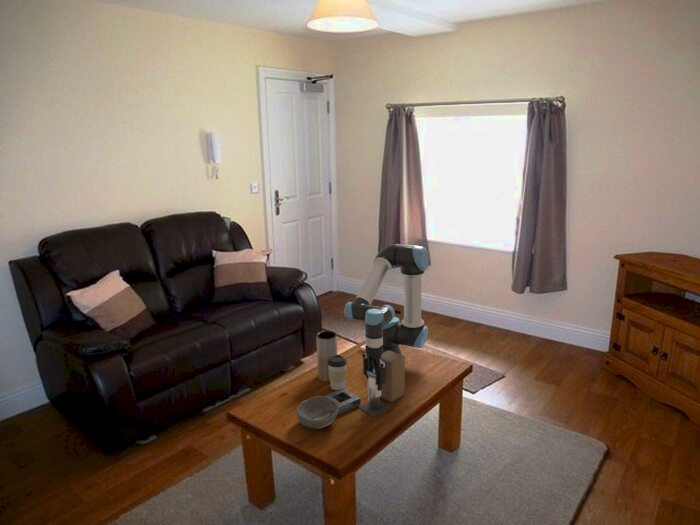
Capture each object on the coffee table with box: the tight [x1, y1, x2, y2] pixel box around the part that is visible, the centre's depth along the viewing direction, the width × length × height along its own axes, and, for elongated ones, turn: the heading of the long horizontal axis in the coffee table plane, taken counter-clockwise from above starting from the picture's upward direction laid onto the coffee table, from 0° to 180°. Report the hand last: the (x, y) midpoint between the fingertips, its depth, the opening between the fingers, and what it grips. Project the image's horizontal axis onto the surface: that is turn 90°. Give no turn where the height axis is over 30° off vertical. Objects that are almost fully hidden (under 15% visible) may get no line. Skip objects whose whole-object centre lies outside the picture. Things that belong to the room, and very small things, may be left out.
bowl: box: [295, 395, 339, 430], centre depth 208 cm, size 18×18×8 cm
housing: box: [323, 387, 362, 415], centre depth 223 cm, size 12×12×4 cm
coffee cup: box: [328, 354, 348, 391], centre depth 237 cm, size 9×9×15 cm
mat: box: [358, 401, 391, 418], centre depth 219 cm, size 10×10×1 cm
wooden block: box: [380, 351, 406, 403], centre depth 227 cm, size 10×10×20 cm
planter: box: [316, 330, 338, 382], centre depth 245 cm, size 10×10×23 cm
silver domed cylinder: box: [367, 368, 381, 408], centre depth 217 cm, size 6×6×16 cm
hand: (374, 393), depth 217 cm, fingers closed on silver domed cylinder, 5 cm apart
